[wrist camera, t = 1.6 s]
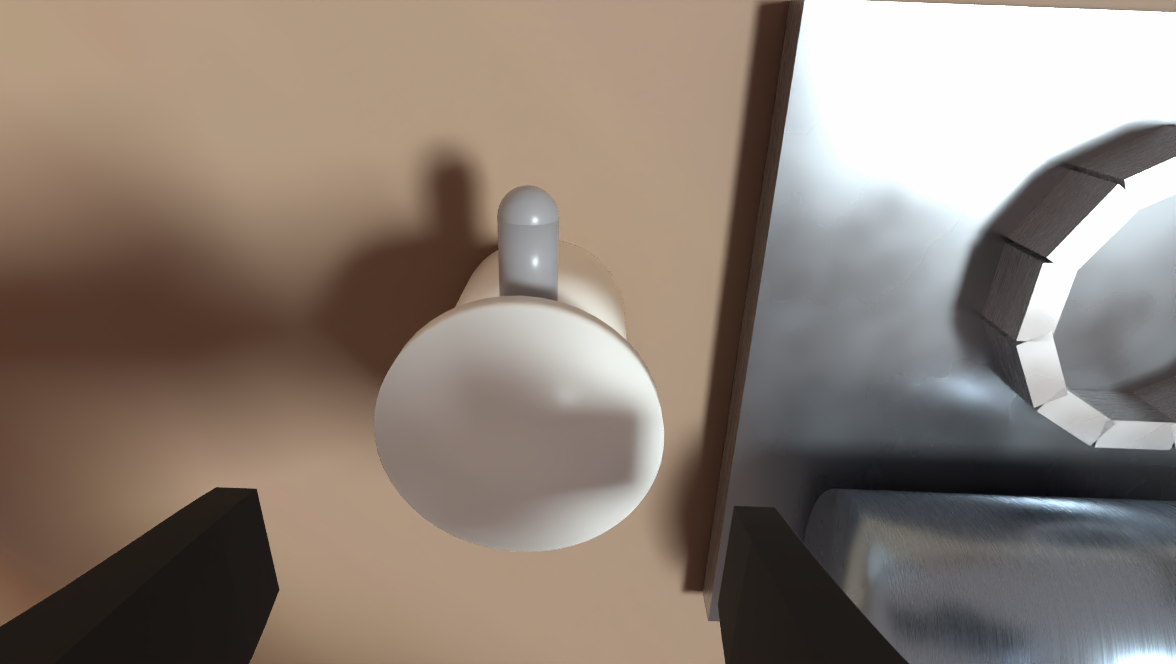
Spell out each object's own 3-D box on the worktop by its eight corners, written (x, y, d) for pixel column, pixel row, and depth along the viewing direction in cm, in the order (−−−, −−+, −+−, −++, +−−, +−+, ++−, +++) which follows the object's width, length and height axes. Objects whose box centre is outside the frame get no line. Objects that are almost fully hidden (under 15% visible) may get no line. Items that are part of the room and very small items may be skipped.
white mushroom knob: (637, 407, 19) (652, 556, 14) (447, 400, 19) (388, 547, 14) (657, 154, 16) (685, 219, 11) (431, 146, 16) (346, 206, 11)
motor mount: (1200, 609, 22) (1449, 850, 16) (702, 591, 22) (746, 825, 16) (1544, 28, 15) (2298, 31, 8) (789, 1, 15) (942, -20, 8)
